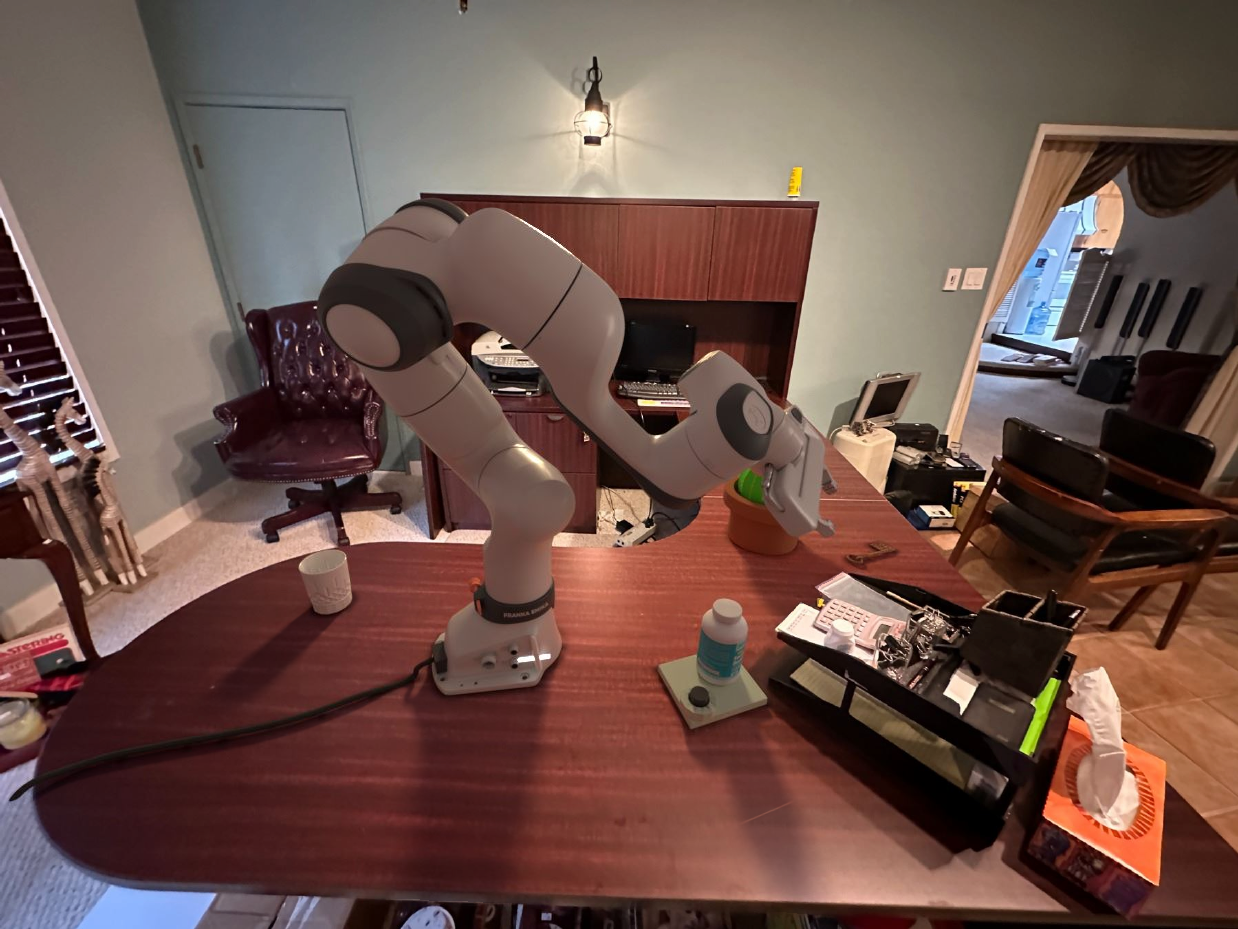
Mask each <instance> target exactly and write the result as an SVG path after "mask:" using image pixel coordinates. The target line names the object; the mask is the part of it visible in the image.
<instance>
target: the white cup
mask: <svg viewBox="0 0 1238 929" xmlns="http://www.w3.org/2000/svg"><path fill="white" fill-rule="evenodd" d="M298 571H299V573H300V576H301V579H302V583H303V586H304V588H305V591H306V593H307V596H308V599H309V600H310V602H311V605H312V607H313V610H314V612H315V613H317V614H320V615H330V614H331V615H332V614H335V613H338V612H340V611H343V610H344V609H346V608H347V607H348V606H349V605H350V604H351V602H352V600H353V594H352V587H351V586H352V584H351V576H350V570H349V565H348V558H347V554H346V553H345V552H344V551H342V550H339V549H325V550H320V551H317V552H314V553H312V554H309V555H307V556H306V557H304V558H303V559H302V560H301V561H300V562H299V565H298Z"/></svg>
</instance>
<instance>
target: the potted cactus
mask: <svg viewBox="0 0 1238 929" xmlns="http://www.w3.org/2000/svg"><path fill="white" fill-rule="evenodd" d="M762 479H763V476H757V475H755V474H754V473H753V472H752V471H751V470H750V469H747V470H745V471H743V472H742V473H740V474H738V475H737V476H735V477H734V478H733V479H731V480H729V481H727V482H726V483H724V484H723V485H724V486H723V492H722V500H723V503H724V505H725V507H727V509H729V516H728V523H727V529H726V531H727V535H728V538H729V539H730V540H731V541H732V542H733V543H734V544H736V545H737V546H738V547H740V548H742V549H745V550H747V551H750V552H752V553H756V554H760V555H765V556H782V555H783V556H784V555H786V554H789V553H791V552H792V551H793V550H794V549H795V548H796V546H797V545H798V541H799V537H793V536H790V535H789V534H788V533H787V532H786V531H785V530H784V529H783V527H782V526H781V525H780V524H779V523H778V521H777V520H776V519H775V518H774V517H773V515H772V514H771V513H770V511H769V510H768V508H767V507H766V505H765V503H764V501H763V489H762V488H761V481H762Z"/></svg>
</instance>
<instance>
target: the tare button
mask: <svg viewBox="0 0 1238 929" xmlns="http://www.w3.org/2000/svg"><path fill="white" fill-rule="evenodd" d="M708 697H709V693H708V691H707V690H706V689H705V688H704V687H702V686H695V687H693V688H692V689H691V693H690V702H691V703H692V705H694V706H695V707H700V708H702V707H705V706H706V705H707V703H708Z"/></svg>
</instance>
